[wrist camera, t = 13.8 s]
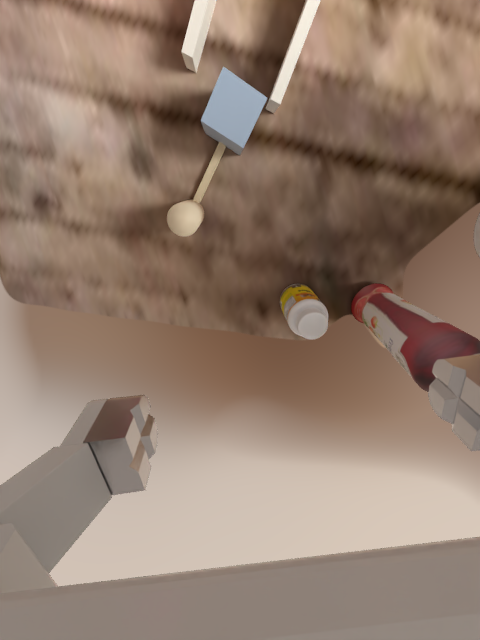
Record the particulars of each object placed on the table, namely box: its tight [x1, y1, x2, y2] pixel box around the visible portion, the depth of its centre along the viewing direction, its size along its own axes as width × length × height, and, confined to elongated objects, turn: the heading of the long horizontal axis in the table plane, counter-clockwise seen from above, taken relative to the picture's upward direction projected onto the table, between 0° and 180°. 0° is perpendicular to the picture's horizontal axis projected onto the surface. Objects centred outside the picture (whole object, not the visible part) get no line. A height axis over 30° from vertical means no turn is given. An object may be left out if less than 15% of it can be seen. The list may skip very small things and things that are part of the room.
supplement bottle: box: [280, 284, 328, 339], centre depth 42 cm, size 6×6×10 cm
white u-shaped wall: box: [181, 0, 320, 113], centre depth 31 cm, size 14×11×4 cm
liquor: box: [351, 284, 480, 392], centre depth 35 cm, size 7×7×28 cm
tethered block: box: [167, 67, 267, 237], centre depth 35 cm, size 16×5×9 cm, turn 151°
